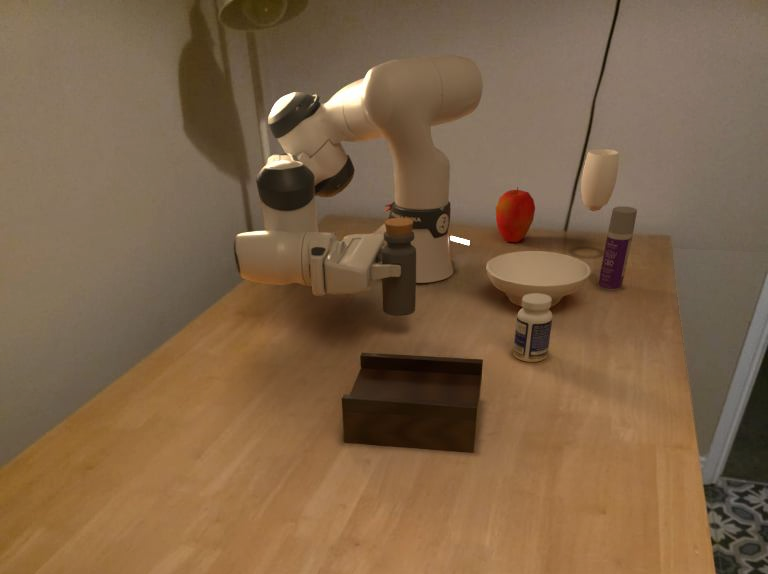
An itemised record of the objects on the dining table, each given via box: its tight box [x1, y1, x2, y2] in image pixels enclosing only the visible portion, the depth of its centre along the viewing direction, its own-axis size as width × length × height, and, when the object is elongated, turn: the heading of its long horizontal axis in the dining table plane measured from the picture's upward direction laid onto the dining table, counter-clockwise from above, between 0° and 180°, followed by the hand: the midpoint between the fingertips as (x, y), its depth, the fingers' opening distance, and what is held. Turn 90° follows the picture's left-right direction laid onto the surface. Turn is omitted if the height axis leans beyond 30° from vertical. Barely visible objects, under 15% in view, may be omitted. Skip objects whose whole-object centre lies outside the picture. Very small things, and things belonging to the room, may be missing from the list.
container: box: [597, 206, 638, 292], centre depth 132 cm, size 5×5×15 cm
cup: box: [580, 148, 620, 213], centre depth 147 cm, size 7×7×21 cm
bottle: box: [381, 218, 417, 317], centre depth 114 cm, size 6×6×15 cm
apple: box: [495, 187, 536, 243], centre depth 157 cm, size 9×9×12 cm
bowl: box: [485, 250, 592, 307], centre depth 129 cm, size 20×20×7 cm
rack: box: [341, 351, 484, 453], centre depth 95 cm, size 18×14×7 cm
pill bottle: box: [513, 293, 553, 363], centre depth 110 cm, size 6×6×10 cm
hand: (404, 263), depth 113 cm, fingers closed on bottle, 6 cm apart
